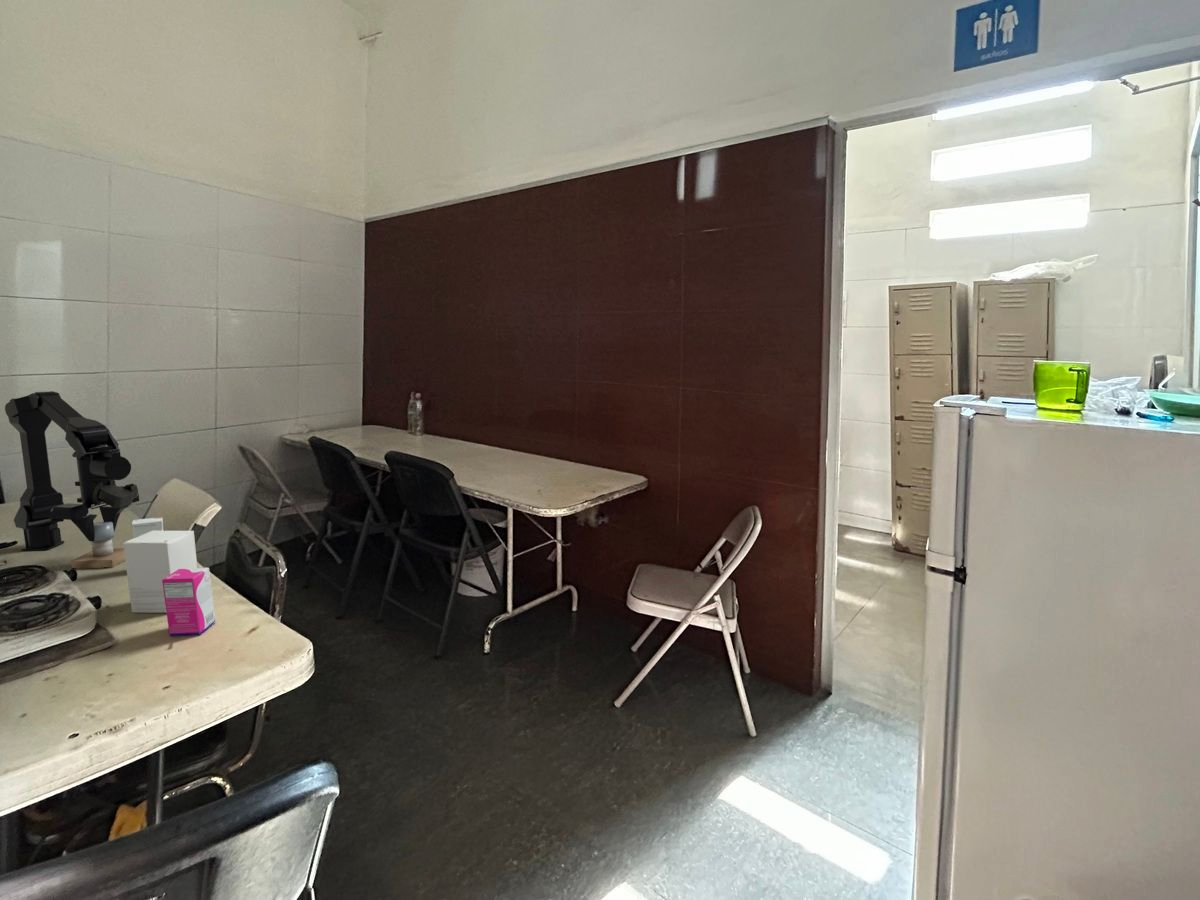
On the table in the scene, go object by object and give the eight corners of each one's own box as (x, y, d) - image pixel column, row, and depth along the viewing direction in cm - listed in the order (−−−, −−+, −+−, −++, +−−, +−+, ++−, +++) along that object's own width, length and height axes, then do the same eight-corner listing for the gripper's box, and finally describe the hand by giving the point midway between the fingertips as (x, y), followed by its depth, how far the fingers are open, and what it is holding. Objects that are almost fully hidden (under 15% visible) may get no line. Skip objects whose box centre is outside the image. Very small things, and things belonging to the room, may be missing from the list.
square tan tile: (71, 568, 151) (68, 544, 150) (96, 556, 159) (93, 533, 158) (112, 567, 152) (109, 543, 151) (134, 555, 161) (132, 532, 160)
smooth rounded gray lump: (83, 540, 153) (81, 526, 152) (101, 534, 157) (99, 521, 157) (101, 541, 152) (99, 527, 151) (119, 535, 157) (117, 522, 156)
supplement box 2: (185, 623, 123) (179, 567, 121) (216, 622, 123) (211, 567, 121) (167, 636, 117) (161, 578, 115) (200, 636, 117) (194, 578, 115)
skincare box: (135, 573, 148) (129, 524, 146) (136, 568, 152) (131, 519, 150) (166, 569, 151) (161, 520, 150) (167, 563, 155) (162, 516, 153)
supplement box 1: (202, 596, 136) (196, 529, 133) (174, 613, 127) (167, 542, 124) (160, 595, 136) (153, 529, 133) (129, 613, 127) (121, 542, 124)
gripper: (88, 485, 142) (96, 551, 145) (155, 469, 160) (161, 528, 163) (44, 483, 143) (53, 549, 146) (116, 468, 162) (122, 526, 164)
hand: (101, 537), depth 155 cm, fingers closed on smooth rounded gray lump, 5 cm apart
